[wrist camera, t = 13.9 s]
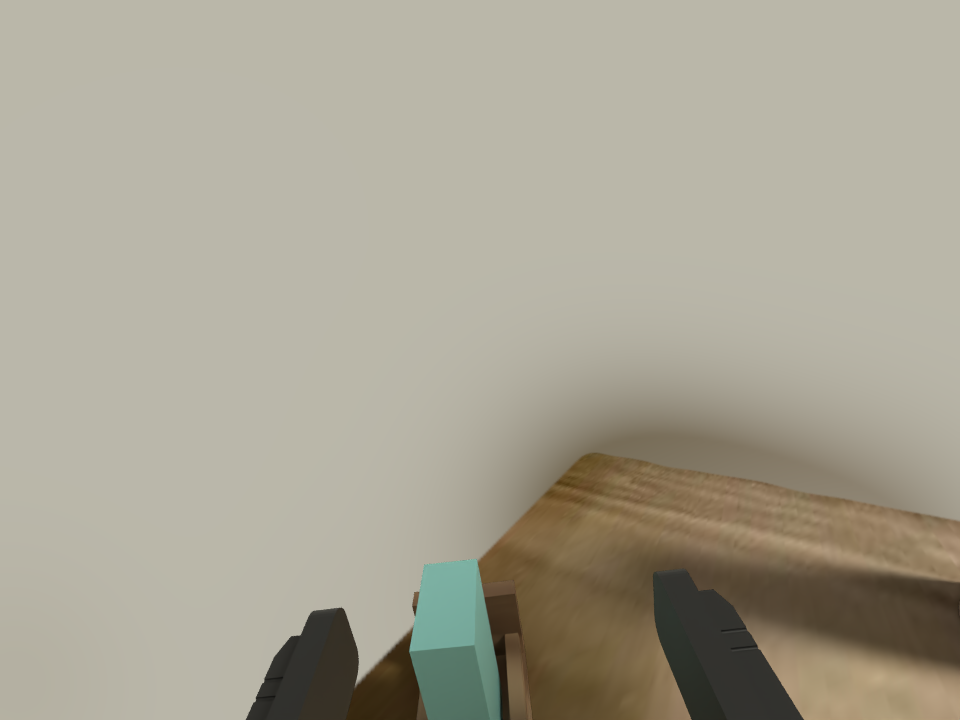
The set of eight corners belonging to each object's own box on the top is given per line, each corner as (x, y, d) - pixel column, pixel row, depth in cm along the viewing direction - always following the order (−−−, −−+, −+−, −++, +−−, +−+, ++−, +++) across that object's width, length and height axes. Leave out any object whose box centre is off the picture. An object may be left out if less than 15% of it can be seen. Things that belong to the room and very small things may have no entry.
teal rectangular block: (455, 694, 39) (424, 564, 34) (501, 690, 39) (476, 558, 34) (449, 795, 32) (409, 651, 28) (505, 791, 32) (474, 645, 27)
